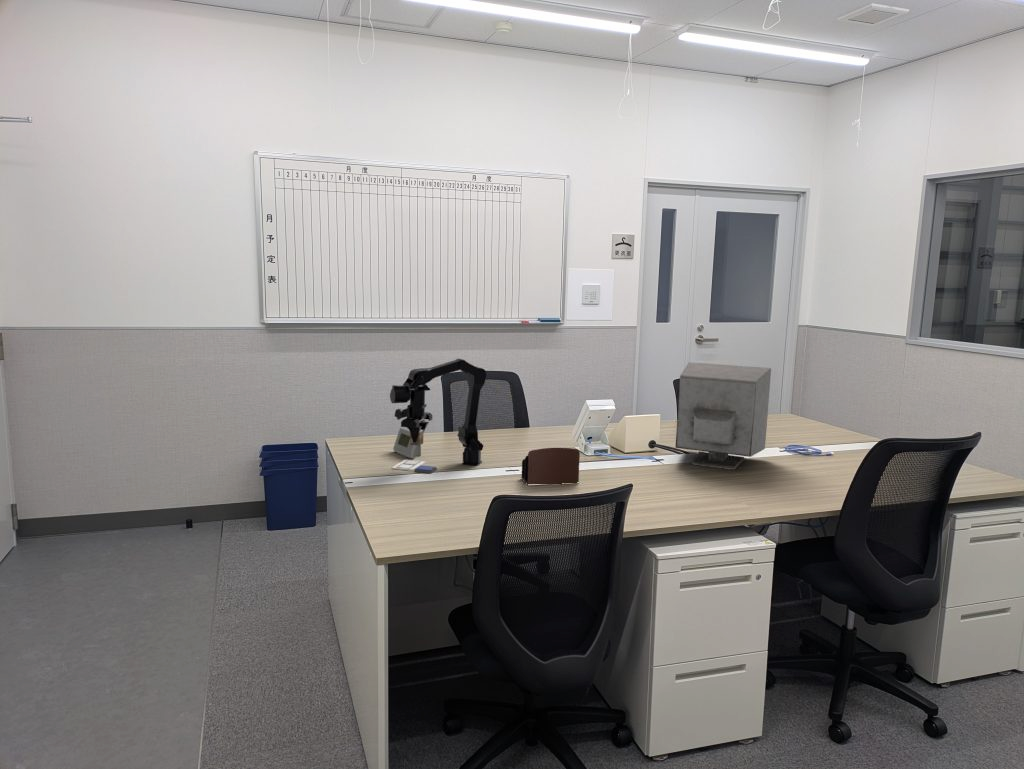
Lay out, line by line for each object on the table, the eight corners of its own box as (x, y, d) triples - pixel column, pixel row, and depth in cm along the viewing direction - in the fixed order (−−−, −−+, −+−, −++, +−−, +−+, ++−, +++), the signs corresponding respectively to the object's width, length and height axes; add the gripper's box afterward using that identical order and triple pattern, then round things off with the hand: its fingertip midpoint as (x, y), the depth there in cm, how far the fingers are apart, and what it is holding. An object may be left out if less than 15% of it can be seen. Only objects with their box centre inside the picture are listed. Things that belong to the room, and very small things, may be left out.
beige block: (423, 443, 289) (423, 429, 289) (419, 445, 286) (419, 431, 285) (413, 442, 290) (413, 428, 290) (409, 444, 286) (410, 430, 286)
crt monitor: (764, 458, 321) (771, 367, 315) (753, 479, 287) (761, 378, 281) (683, 449, 335) (689, 361, 329) (664, 467, 302) (670, 370, 296)
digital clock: (392, 451, 318) (392, 427, 316) (412, 449, 322) (412, 425, 320) (403, 460, 304) (404, 435, 302) (424, 458, 308) (424, 433, 306)
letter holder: (579, 484, 276) (580, 447, 274) (527, 486, 271) (528, 449, 269) (570, 477, 285) (572, 441, 283) (521, 478, 281) (522, 442, 279)
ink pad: (436, 469, 290) (436, 466, 290) (431, 473, 284) (431, 470, 284) (420, 468, 292) (420, 464, 292) (414, 471, 286) (414, 468, 286)
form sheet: (425, 462, 300) (425, 461, 300) (412, 470, 288) (412, 469, 287) (405, 460, 302) (405, 459, 302) (391, 468, 290) (391, 467, 290)
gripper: (407, 397, 296) (406, 435, 299) (388, 404, 279) (387, 444, 281) (433, 399, 294) (432, 437, 296) (416, 406, 276) (415, 447, 278)
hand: (416, 441), depth 288 cm, fingers closed on beige block, 4 cm apart
